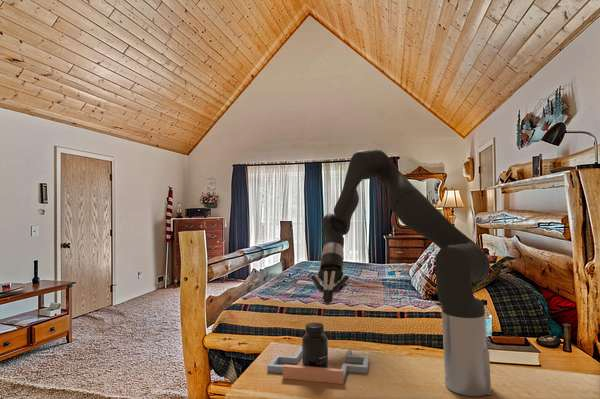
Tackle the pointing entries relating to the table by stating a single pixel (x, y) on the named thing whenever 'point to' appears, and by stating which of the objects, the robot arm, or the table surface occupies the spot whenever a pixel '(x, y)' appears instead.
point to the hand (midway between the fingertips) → (327, 302)
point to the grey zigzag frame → (317, 368)
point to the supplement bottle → (315, 346)
